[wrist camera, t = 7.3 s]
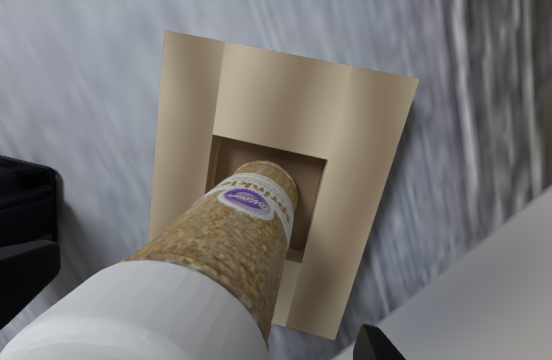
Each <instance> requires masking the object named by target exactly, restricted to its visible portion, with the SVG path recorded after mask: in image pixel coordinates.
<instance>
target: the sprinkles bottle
mask: <svg viewBox="0 0 552 360" xmlns="http://www.w3.org/2000/svg"><path fill="white" fill-rule="evenodd" d="M297 203H298V192H297V188H296V184H295V182H294V180H293V178H292V177H291V176H290V174H289V173H288V172H287V171H286V170H284V169H283V168H282V167H280V166H279V165H278V164H276V163H273V162H271V161H262V160H258V161H252V162H249V163H246V164H244V165H242V166H240V167H239V168H238V169H237V170H236V171H235V172H234V173H233V174H232V176H230V177H228V178H227V179H225V180H224V181H222V182H221V183H220V184H218V185H217V186H216V187H214V188H213V189H212V190H211V191H209V192H208V193H207V194H205V195H204V196H203V197H201V198H200V199H199V200H198V201H197V202H195V203H194V205H193V206H192V207H191V208H190V209H189V210H187V211H186V212H185V213H184V214H182V215H181V216H180V217H179V218H177V219H176V220H175V221H173V222H172V223H171V224H170V225H169V226H168V227H166V228H165V229H164V230H163V231H162V232H161V233H159V234H158V235H157V236H156V237H155V238H153V239H152V240H151V241H150V242H148V243H147V244H146V245H144V246H143V247H142V248H141V249H140V250H138V251H137V252H136V253H135V254H134V255H132V256H131V257H129V258H128V259H124V260H122V261H120V262H118V263H117V264H115V265H112V266H110V267H107V268H105V269H102V270H101V271H99V272H98V273H96V274H94V275H93V276H91V277H90V278H89V279H87V280H86V281H85V282H84V283H82V284H81V285H80V286H78V287H77V288H76V289H74V290H73V291H72V292H70V293H69V294H68V295H66V296H65V297H64V298H62V299H61V300H60V301H58V302H57V303H56V304H54V305H53V306H52V307H50V308H49V309H48V310H47V311H45V312H44V313H43V314H41V315H40V316H39V317H38V318H36V319H35V320H34V321H32V322H31V323H30V324H29V325H27V326H26V327H25V328H24V329H23V330H21V331H20V332H19V333H18V334H17V335H16V336H15V337H14V338H13V339H12V340H11V341H10V342H9V343H8V344H7V345H6V346H5V348H4V349H3V351H2V352H1V353H0V360H269V354H268V350H269V347H268V336H269V332H270V328H271V321H272V319H273V315H274V310H275V305H276V301H277V295H278V290H279V288H280V281H281V278H282V272H283V267H284V261H285V256H286V252H287V250H288V247H289V242H290V237H291V232H292V226H293V220H294V212H295V209H296V207H297Z"/></svg>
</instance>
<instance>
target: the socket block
mask: <svg viewBox="0 0 552 360" xmlns="http://www.w3.org/2000/svg"><path fill="white" fill-rule="evenodd" d="M418 82H419V79H416V78H411V77H406V76H401V75H395V74H390V73H385V72H380V71H375V70H369V69H364V68H359V67H354V66H349V65H344V64H338V63H333V62H328V61H323V60H318V59H312V58H307V57H302V56H297V55H292V54H286V53H281V52H276V51H271V50H266V49H260V48H255V47H250V46H245V45H240V44H235V43H229V42H224V41H219V40H214V39H209V38H203V37H198V36H193V35H188V34H183V33H177V32H172V31H167V30H165V32H164V45H163V58H162V71H161V84H160V96H159V109H158V122H157V135H156V148H155V160H154V173H153V186H152V199H151V212H150V224H149V237H148V242H150V241H151V240H152V239H153V238H155V237H156V236H157V235H158V234H159V233H161V232H162V231H163V230H164V229H165V228H166V227H168V226H169V225H170V224H171V223H172V222H173V221H175V220H176V219H177V218H179V217H180V216H181V215H182V214H184V213H185V212H186V211H187V210H189V209H190V208H191V207H192V206H193V205H194V203H195V202H197V201H198V200H199V199H200V198H201V197H203V196H204V195H205V194H207V193H208V192H209V191H211V190H212V189H213V188H214V187H216V186H217V185H218V184H220V183H221V182H222V181H224V180H225V179H227V178H228V177H230V176H232V174H233V173H234V172H235V171H236V170H237V169H238V168H239V167H240V166H242V165H244V164H246V163H249V162H252V161H258V160H262V161H271V162H273V163H276V164H278V165H279V166H280V167H282V168H283V169H284V170H286V171H287V172H288V173H289V174H290V176H291V177H292V178H293V180H294V182H295V184H296V188H297V192H298V203H297V207H296V209H295V212H294V220H293V226H292V232H291V237H290V242H289V247H288V250H287V252H286V256H285V261H284V267H283V272H282V278H281V281H280V288H279V290H278V295H277V301H276V305H275V310H274V315H273V319H272V321H271V323H272V324H276V325H280V326H283V327H287V328H291V329H295V330H298V331H302V332H306V333H309V334H313V335H317V336H321V337H324V338H328V339H332V340H335V338H336V335H337V332H338V329H339V326H340V323H341V320H342V317H343V314H344V310H345V307H346V304H347V301H348V298H349V295H350V292H351V289H352V286H353V283H354V280H355V276H356V273H357V270H358V267H359V264H360V261H361V258H362V255H363V252H364V249H365V246H366V243H367V239H368V236H369V233H370V230H371V227H372V224H373V221H374V218H375V215H376V212H377V209H378V205H379V202H380V199H381V196H382V193H383V190H384V187H385V184H386V181H387V178H388V175H389V172H390V168H391V165H392V162H393V159H394V156H395V153H396V150H397V147H398V144H399V141H400V138H401V134H402V131H403V128H404V125H405V122H406V119H407V116H408V113H409V110H410V107H411V104H412V100H413V97H414V94H415V91H416V88H417V85H418Z"/></svg>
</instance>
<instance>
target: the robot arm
mask: <svg viewBox="0 0 552 360" xmlns="http://www.w3.org/2000/svg"><path fill="white" fill-rule="evenodd" d="M46 174H47V175H46ZM60 269H61V248H60V245H59V244H58V243H57V218H56V177H55V172H54V170H53V169H52V168H50V167H47V166H43V165H39V164H35V163H31V162H27V161H22V160H18V159H14V158H10V157H6V156H2V155H0V330H1V329H2V328H3V327H5V326H6V325H7V324H8V323H9V322H10V321H11V320H12V319H13V318H14V317H15V316H16V315H18V314H19V313H20V312H21V311H22V310H23V309H24V308H25V307H26V306H27V305H28V304H29V303H30V302H31V301H32V300H33V299H34V298H35V297H36V296H37V295H38V294H39V293H40V292H41V291H42V290H43V289H44V288H45V287H46V286H47V285H48V284H49V283H50V282H51V281H52V280H53V279H54V278H55V277H56V276H57V275H58V273H59V271H60ZM353 360H406V359H405V358H404V357H403V356H402V354H401V353H400V352H399V351H398V350H397V348H396V347H395V346H394V345H393V344H392V343H391V341H390V340H389V339H388V338H387V337H386V335H385V334H384V333H383V332H382V331H381V330H380V329H379V328H378V327H375V326H372V325H368V324H364V325H362V327H361V329H360V332H359V334H358V337H357V340H356V343H355V346H354V350H353Z"/></svg>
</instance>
